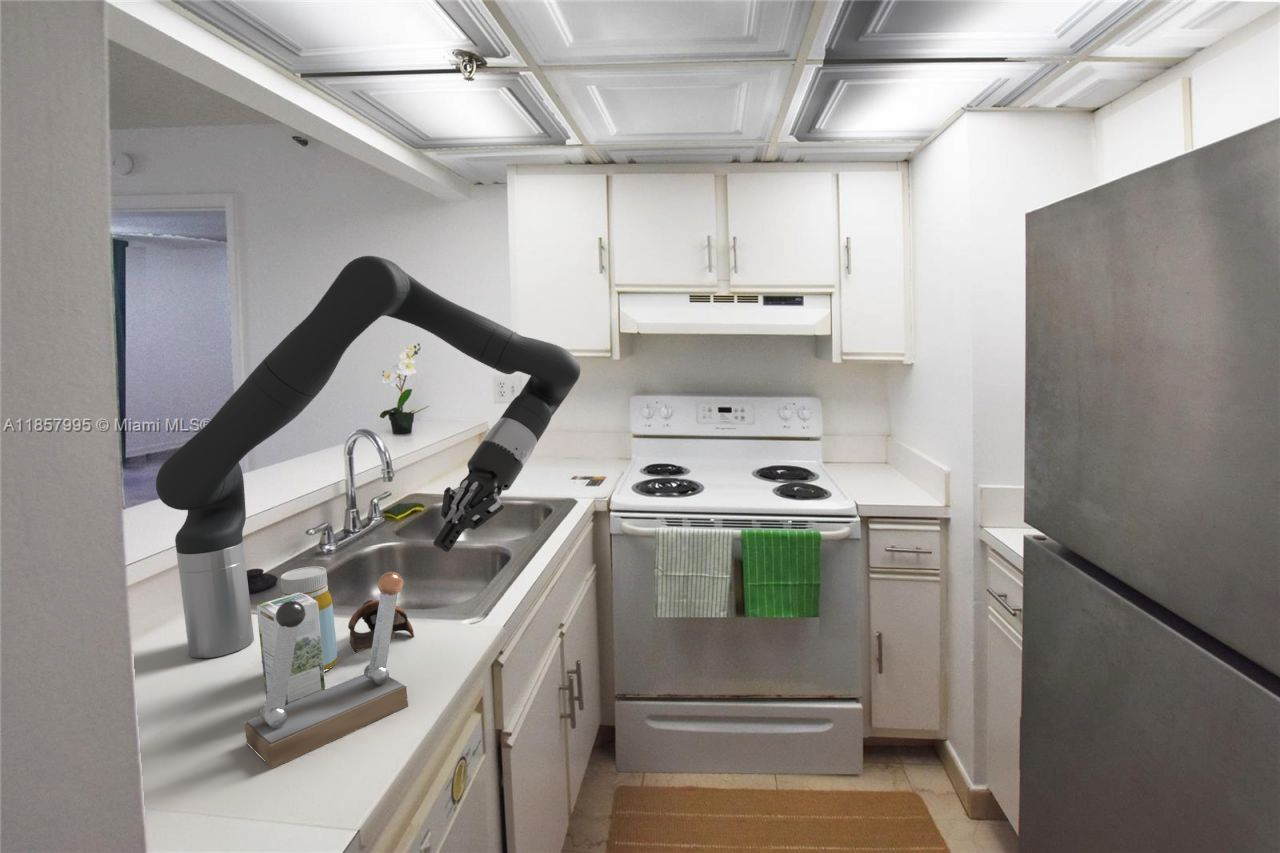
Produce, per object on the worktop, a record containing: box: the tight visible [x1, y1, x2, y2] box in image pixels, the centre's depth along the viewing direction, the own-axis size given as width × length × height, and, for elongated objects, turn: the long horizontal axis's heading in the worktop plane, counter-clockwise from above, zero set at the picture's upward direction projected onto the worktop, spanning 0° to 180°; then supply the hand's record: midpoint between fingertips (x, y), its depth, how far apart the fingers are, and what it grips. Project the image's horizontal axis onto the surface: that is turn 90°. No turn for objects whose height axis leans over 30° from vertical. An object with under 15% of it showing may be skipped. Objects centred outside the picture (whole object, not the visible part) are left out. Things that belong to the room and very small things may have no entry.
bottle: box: [280, 566, 338, 670], centre depth 101 cm, size 7×7×15 cm
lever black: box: [259, 601, 305, 728], centre depth 81 cm, size 3×3×15 cm
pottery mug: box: [347, 599, 415, 653], centre depth 110 cm, size 12×10×8 cm
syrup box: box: [256, 593, 326, 705], centre depth 91 cm, size 6×6×14 cm
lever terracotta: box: [363, 571, 404, 685], centre depth 91 cm, size 3×3×15 cm
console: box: [244, 673, 409, 769], centre depth 85 cm, size 8×17×3 cm, turn 139°
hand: (440, 548), depth 97 cm, fingers closed
